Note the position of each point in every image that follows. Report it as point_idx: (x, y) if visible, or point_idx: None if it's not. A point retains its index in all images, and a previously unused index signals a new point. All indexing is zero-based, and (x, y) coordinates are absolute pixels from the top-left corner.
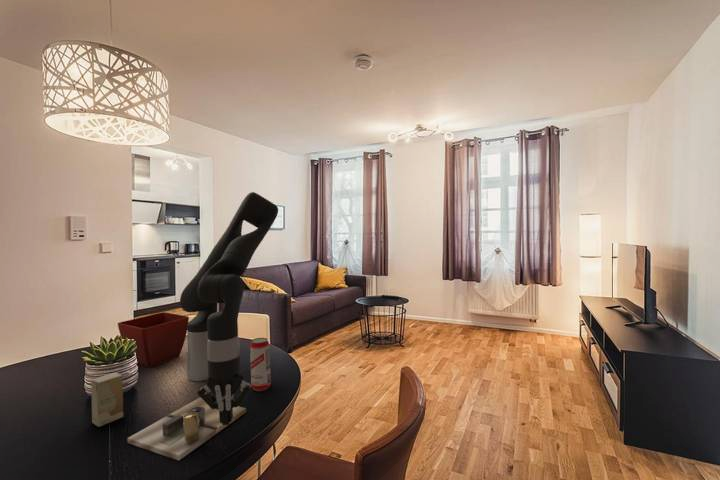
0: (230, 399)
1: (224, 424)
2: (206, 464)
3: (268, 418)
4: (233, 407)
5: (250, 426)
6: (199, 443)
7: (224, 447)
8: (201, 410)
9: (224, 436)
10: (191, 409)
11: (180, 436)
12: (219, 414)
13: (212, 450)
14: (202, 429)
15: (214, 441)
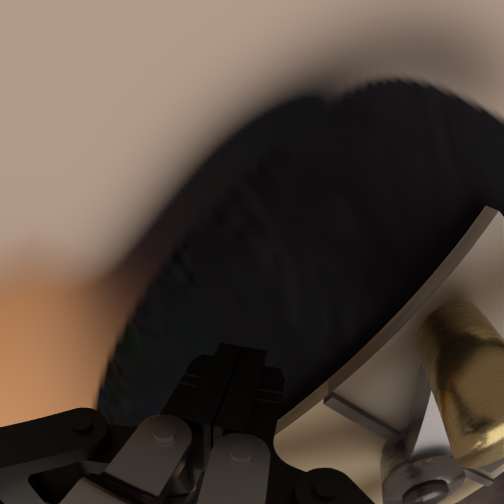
0: (75, 488)
1: (249, 349)
2: (344, 119)
3: (117, 395)
4: (126, 426)
5: (172, 377)
6: (407, 310)
7: (268, 250)
8: (399, 494)
9: (284, 347)
10: (443, 497)
11: None
12: (276, 419)
13: (333, 242)
14: (394, 406)
15: (331, 321)
